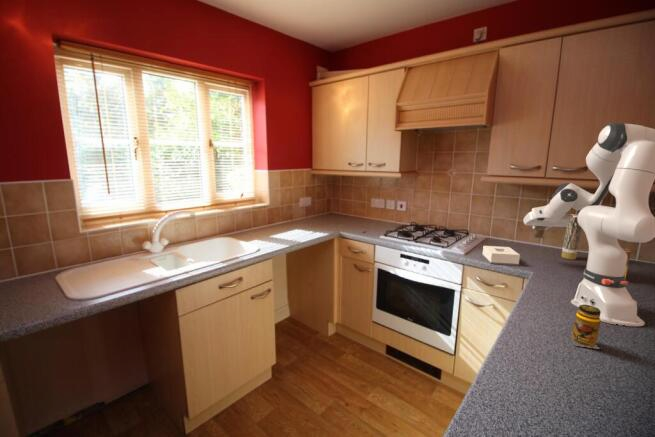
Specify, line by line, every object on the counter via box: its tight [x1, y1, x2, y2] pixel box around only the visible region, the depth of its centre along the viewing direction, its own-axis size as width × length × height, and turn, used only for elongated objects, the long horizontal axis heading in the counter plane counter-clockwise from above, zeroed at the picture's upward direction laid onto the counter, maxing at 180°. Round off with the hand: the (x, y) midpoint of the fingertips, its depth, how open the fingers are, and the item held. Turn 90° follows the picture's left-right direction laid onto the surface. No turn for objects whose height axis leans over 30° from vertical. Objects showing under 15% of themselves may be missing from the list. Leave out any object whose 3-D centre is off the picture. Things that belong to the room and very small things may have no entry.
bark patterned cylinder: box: [561, 213, 583, 261], centre depth 179 cm, size 7×7×25 cm
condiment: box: [571, 305, 602, 347], centre depth 100 cm, size 7×8×12 cm
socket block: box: [481, 245, 521, 266], centre depth 176 cm, size 14×14×6 cm
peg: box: [533, 226, 545, 239], centre depth 171 cm, size 4×4×9 cm
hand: (539, 228), depth 171 cm, fingers closed on peg, 4 cm apart
